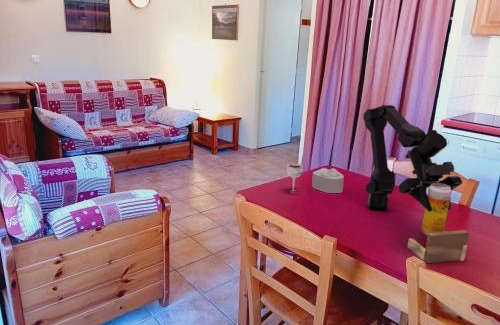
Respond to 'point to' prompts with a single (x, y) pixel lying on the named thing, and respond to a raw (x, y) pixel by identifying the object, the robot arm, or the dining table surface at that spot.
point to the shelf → (441, 246)
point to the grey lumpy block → (328, 180)
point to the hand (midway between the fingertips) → (439, 210)
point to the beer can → (437, 208)
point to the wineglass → (294, 171)
